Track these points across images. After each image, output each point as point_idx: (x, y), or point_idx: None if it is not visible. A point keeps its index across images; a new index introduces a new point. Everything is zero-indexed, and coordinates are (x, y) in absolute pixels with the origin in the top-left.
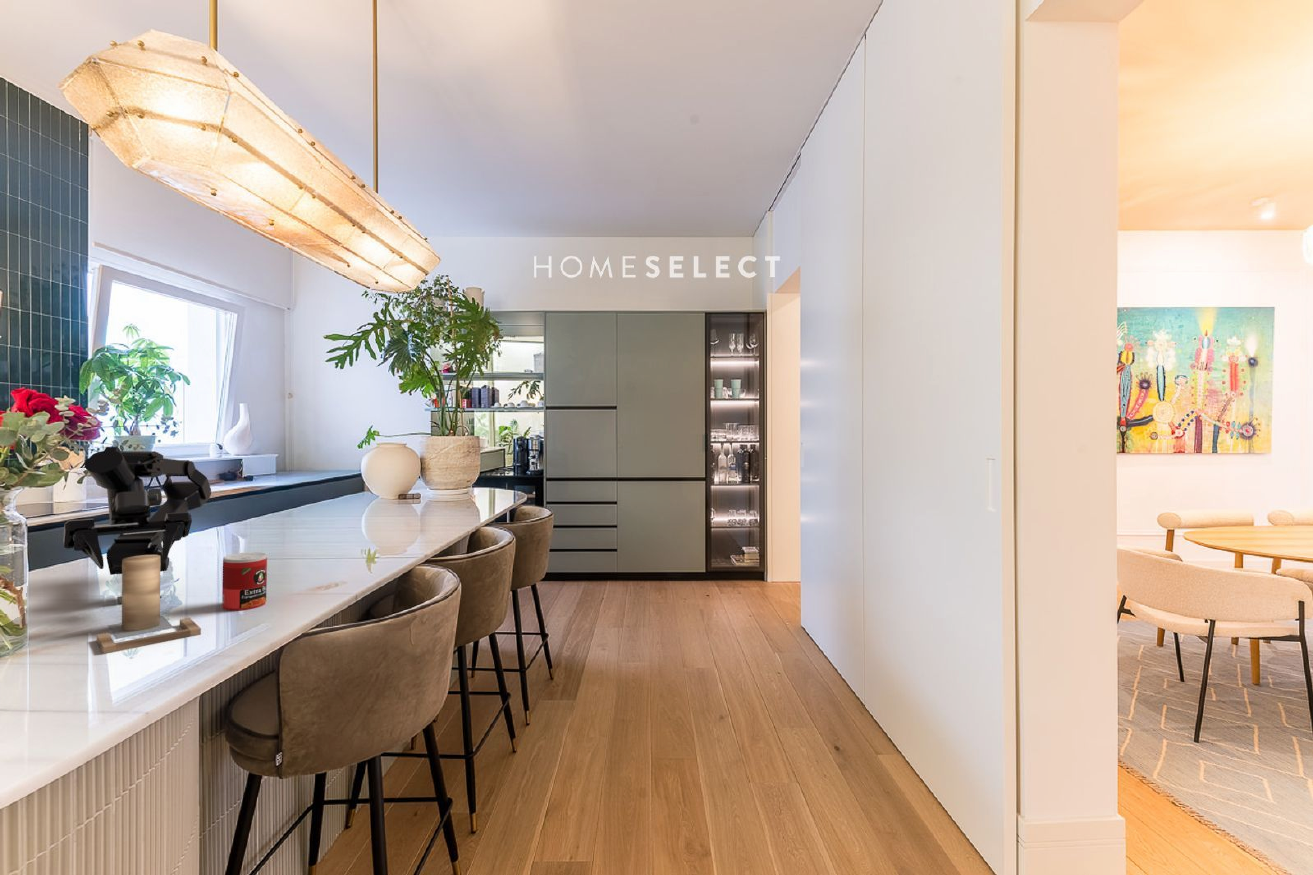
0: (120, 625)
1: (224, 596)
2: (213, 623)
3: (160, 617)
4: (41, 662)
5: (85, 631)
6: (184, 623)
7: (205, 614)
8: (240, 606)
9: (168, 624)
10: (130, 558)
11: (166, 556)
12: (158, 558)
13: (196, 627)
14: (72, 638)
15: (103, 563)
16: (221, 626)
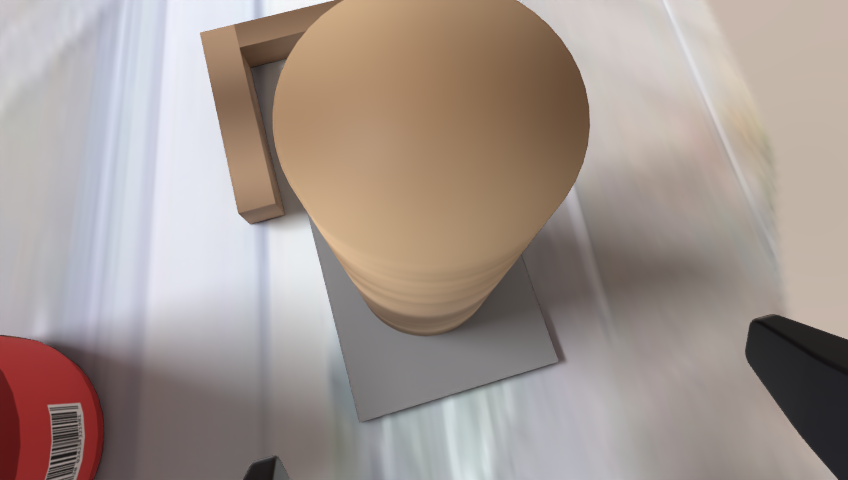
0: (507, 329)
1: (51, 398)
2: (163, 210)
3: (366, 391)
4: (641, 17)
5: (628, 342)
6: (255, 130)
7: (186, 387)
8: (20, 338)
9: (323, 244)
10: (528, 125)
11: (252, 472)
12: (287, 68)
13: (214, 53)
14: (643, 256)
15: (771, 329)
16: (139, 150)
